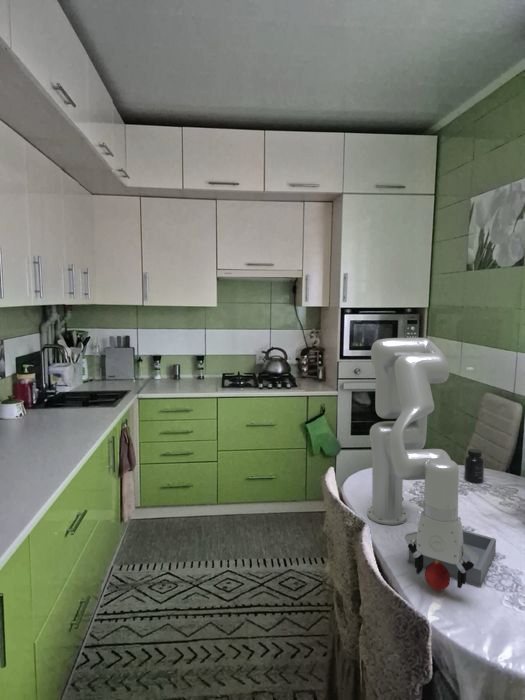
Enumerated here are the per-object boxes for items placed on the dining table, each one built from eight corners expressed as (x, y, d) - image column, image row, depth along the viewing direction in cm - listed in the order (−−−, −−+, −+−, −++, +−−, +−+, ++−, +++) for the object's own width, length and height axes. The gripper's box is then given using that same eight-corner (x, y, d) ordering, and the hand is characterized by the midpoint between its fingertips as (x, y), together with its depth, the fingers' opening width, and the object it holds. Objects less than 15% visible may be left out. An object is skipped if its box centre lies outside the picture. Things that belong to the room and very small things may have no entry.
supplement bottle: (460, 478, 179) (461, 448, 178) (474, 475, 181) (475, 446, 180) (473, 484, 173) (474, 454, 172) (487, 482, 175) (488, 452, 174)
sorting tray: (429, 534, 138) (429, 520, 137) (495, 554, 127) (495, 538, 126) (408, 563, 123) (408, 547, 123) (480, 587, 113) (481, 570, 112)
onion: (443, 582, 115) (444, 552, 114) (454, 597, 109) (454, 566, 108) (420, 583, 114) (421, 553, 114) (429, 598, 109) (430, 567, 108)
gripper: (399, 507, 112) (399, 573, 113) (476, 526, 101) (474, 599, 103) (410, 496, 118) (409, 559, 119) (483, 514, 107) (481, 583, 109)
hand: (439, 578), depth 111 cm, fingers open, 9 cm apart
